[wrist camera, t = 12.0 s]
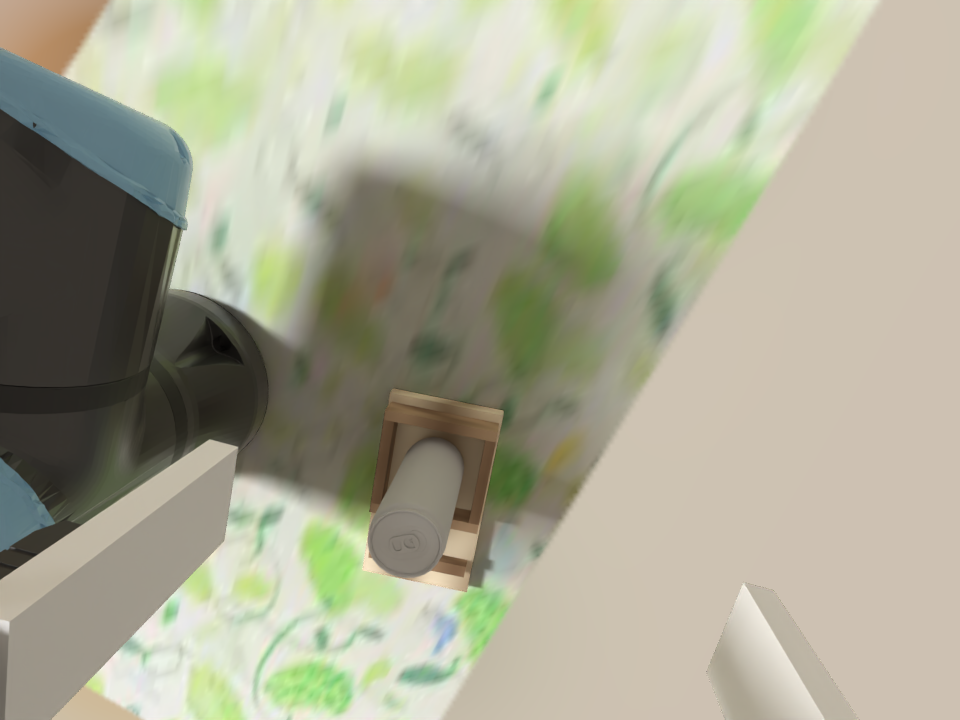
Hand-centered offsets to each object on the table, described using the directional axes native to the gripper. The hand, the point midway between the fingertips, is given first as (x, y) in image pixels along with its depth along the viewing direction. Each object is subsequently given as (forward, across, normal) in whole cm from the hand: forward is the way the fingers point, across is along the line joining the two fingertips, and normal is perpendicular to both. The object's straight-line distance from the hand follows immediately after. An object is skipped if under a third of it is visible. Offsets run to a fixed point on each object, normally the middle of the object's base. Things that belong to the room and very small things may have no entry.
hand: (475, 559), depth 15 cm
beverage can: (+30, -3, -11) cm, 32 cm away
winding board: (+31, -3, -14) cm, 34 cm away
